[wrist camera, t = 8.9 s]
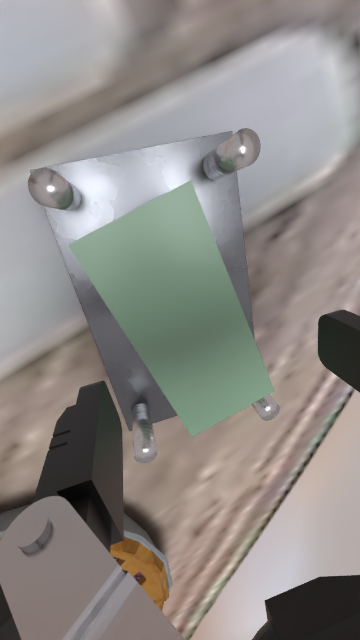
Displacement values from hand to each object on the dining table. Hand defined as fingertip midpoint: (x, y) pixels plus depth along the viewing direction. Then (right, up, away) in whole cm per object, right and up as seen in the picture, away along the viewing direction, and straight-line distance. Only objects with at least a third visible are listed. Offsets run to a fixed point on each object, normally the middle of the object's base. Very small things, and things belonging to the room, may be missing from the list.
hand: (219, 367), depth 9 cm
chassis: (-2, +3, +9) cm, 9 cm away
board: (-2, +3, +8) cm, 9 cm away
